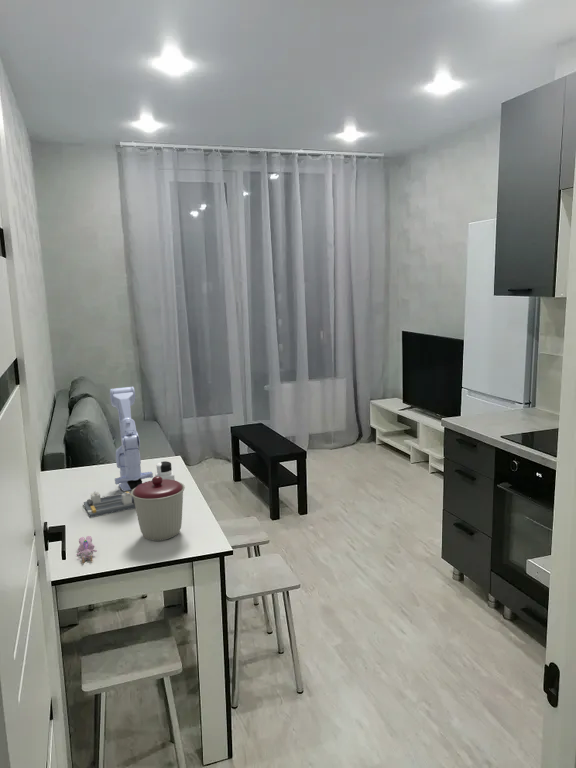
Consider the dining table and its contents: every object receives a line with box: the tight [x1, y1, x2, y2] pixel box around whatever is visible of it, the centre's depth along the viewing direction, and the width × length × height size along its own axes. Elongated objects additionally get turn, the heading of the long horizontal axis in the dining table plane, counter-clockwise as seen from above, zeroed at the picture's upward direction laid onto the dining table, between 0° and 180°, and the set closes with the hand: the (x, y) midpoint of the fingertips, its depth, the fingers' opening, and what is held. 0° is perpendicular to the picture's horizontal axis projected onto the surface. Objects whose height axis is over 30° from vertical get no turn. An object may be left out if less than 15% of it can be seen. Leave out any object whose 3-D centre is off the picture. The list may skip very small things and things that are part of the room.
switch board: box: [83, 491, 136, 518], centre depth 232 cm, size 15×20×2 cm
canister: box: [130, 475, 186, 541], centre depth 202 cm, size 18×18×21 cm
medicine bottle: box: [154, 460, 176, 481], centre depth 247 cm, size 7×7×12 cm
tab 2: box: [120, 491, 132, 505], centre depth 231 cm, size 4×3×4 cm
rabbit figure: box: [75, 535, 98, 564], centre depth 191 cm, size 6×6×15 cm
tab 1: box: [90, 491, 102, 504], centre depth 233 cm, size 4×3×4 cm
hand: (135, 497), depth 232 cm, fingers closed
